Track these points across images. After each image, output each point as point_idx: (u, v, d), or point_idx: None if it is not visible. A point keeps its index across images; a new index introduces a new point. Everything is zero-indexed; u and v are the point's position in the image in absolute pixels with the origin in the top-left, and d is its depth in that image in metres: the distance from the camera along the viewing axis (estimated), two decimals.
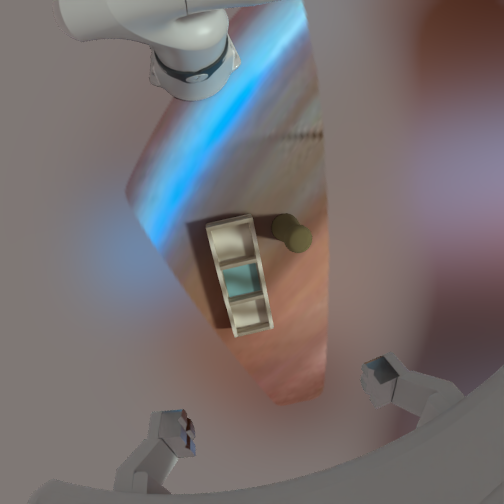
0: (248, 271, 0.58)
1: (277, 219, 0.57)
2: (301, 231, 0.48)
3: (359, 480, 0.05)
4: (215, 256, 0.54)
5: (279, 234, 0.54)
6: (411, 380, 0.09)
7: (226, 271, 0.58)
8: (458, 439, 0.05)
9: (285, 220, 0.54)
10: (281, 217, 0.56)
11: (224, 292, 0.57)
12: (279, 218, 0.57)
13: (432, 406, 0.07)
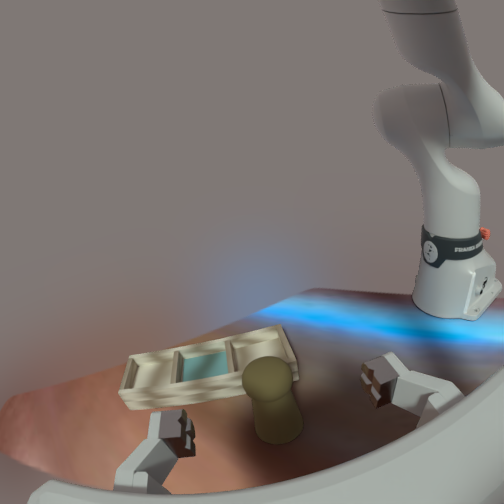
0: (215, 375, 0.37)
1: None
2: (282, 367, 0.25)
3: (359, 480, 0.05)
4: (243, 335, 0.42)
5: None
6: (411, 380, 0.09)
7: (220, 354, 0.41)
8: (458, 439, 0.05)
9: None
10: None
11: (193, 345, 0.41)
12: None
13: (432, 406, 0.07)
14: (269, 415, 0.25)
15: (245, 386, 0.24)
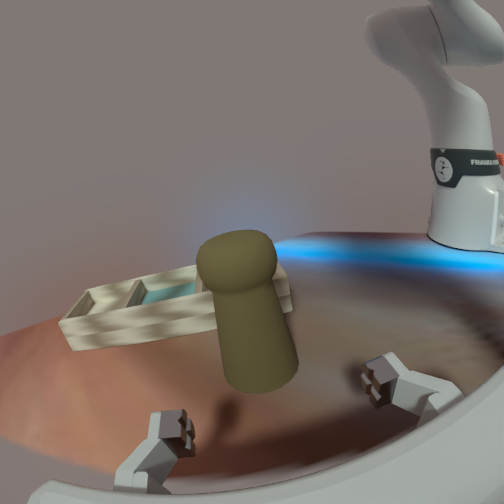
0: None
1: None
2: (259, 234, 0.17)
3: (359, 480, 0.05)
4: None
5: None
6: (411, 380, 0.09)
7: (191, 285, 0.33)
8: (458, 439, 0.05)
9: None
10: None
11: (159, 273, 0.34)
12: None
13: (432, 406, 0.07)
14: (239, 327, 0.17)
15: (199, 263, 0.16)
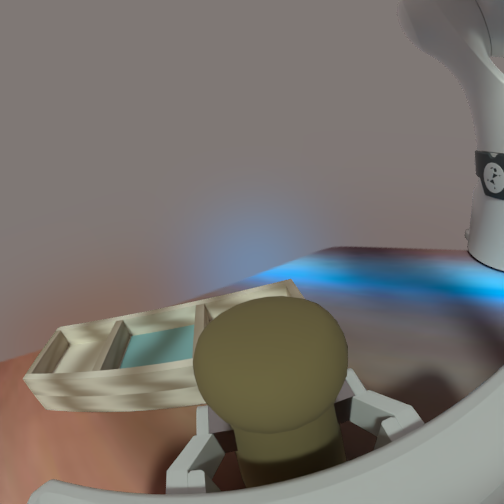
0: (172, 362, 0.20)
1: None
2: (319, 318, 0.08)
3: (359, 480, 0.05)
4: (229, 296, 0.25)
5: None
6: (367, 401, 0.08)
7: (188, 329, 0.24)
8: (458, 439, 0.05)
9: None
10: None
11: (146, 313, 0.25)
12: None
13: (385, 432, 0.07)
14: (275, 462, 0.08)
15: (199, 380, 0.07)
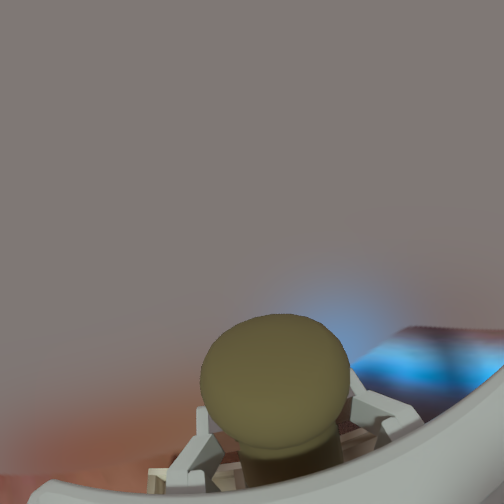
0: None
1: None
2: (324, 342, 0.08)
3: (359, 480, 0.05)
4: (357, 433, 0.19)
5: None
6: (367, 401, 0.08)
7: None
8: (458, 439, 0.05)
9: None
10: None
11: None
12: None
13: (385, 432, 0.07)
14: (279, 470, 0.08)
15: (208, 403, 0.07)
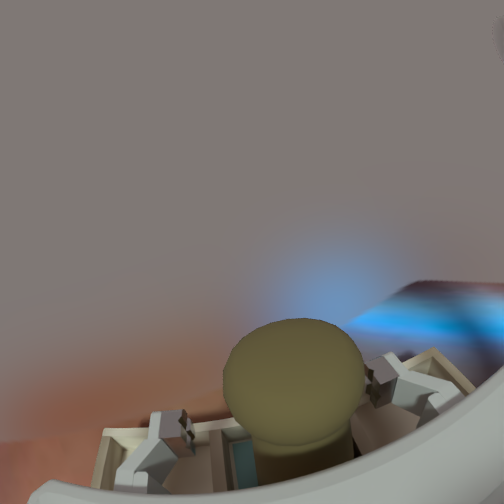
0: None
1: None
2: (341, 341, 0.08)
3: (359, 480, 0.05)
4: None
5: None
6: (411, 380, 0.09)
7: None
8: (458, 439, 0.05)
9: None
10: None
11: None
12: None
13: (432, 406, 0.07)
14: (297, 469, 0.08)
15: (233, 404, 0.08)
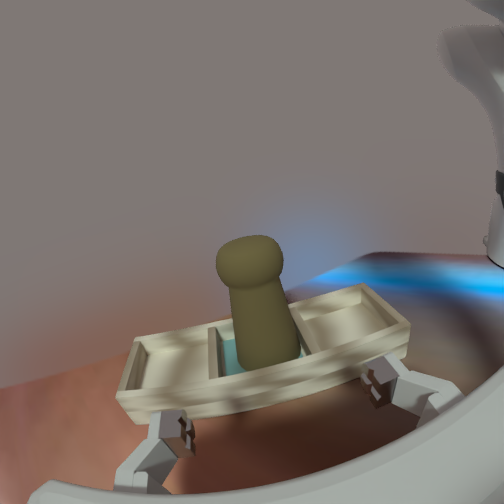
0: None
1: None
2: (268, 239, 0.21)
3: (359, 480, 0.05)
4: (316, 299, 0.28)
5: None
6: (411, 380, 0.09)
7: None
8: (458, 439, 0.05)
9: None
10: None
11: None
12: None
13: (432, 406, 0.07)
14: (253, 317, 0.20)
15: (219, 264, 0.20)
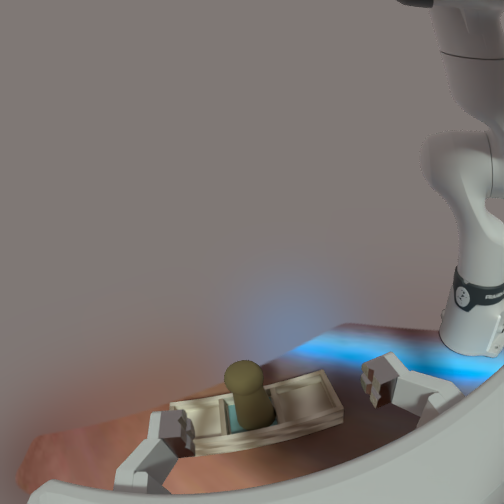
0: None
1: None
2: (254, 368, 0.33)
3: (359, 480, 0.05)
4: (288, 381, 0.40)
5: None
6: (411, 380, 0.09)
7: None
8: (458, 439, 0.05)
9: None
10: None
11: None
12: None
13: (432, 406, 0.07)
14: (246, 406, 0.33)
15: (226, 383, 0.32)
